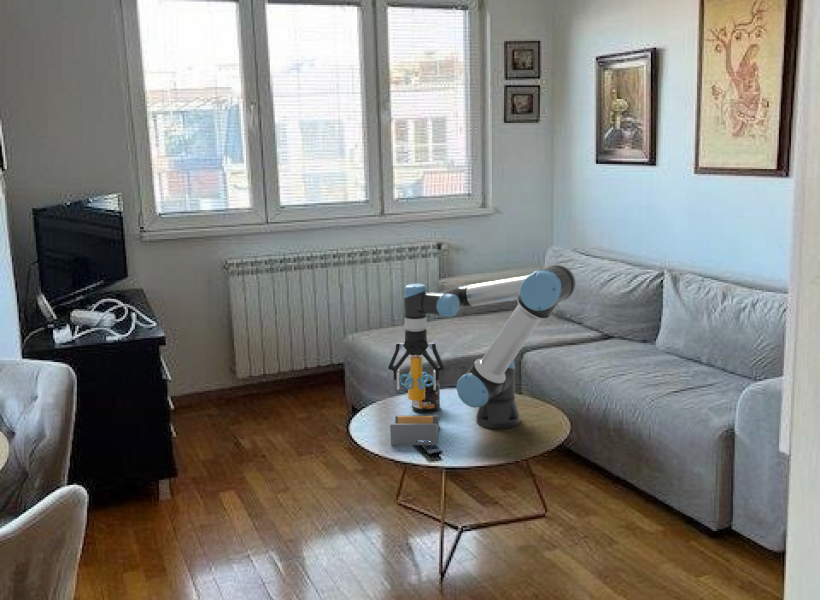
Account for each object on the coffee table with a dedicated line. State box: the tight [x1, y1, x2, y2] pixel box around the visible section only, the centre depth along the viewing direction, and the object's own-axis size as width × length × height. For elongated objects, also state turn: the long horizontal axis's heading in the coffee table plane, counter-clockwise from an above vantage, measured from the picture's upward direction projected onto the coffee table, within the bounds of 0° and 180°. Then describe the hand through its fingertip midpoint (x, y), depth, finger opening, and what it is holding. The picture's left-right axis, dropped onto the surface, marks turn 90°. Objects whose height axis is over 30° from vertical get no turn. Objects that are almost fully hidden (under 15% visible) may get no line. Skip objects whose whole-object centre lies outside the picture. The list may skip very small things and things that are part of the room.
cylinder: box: [399, 355, 433, 401], centre depth 294 cm, size 12×10×15 cm
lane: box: [389, 414, 440, 446], centre depth 283 cm, size 15×18×7 cm
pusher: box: [398, 416, 433, 423], centre depth 284 cm, size 12×1×6 cm, turn 86°
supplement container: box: [411, 373, 441, 414], centre depth 309 cm, size 10×10×12 cm
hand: (416, 388), depth 295 cm, fingers closed on cylinder, 12 cm apart
